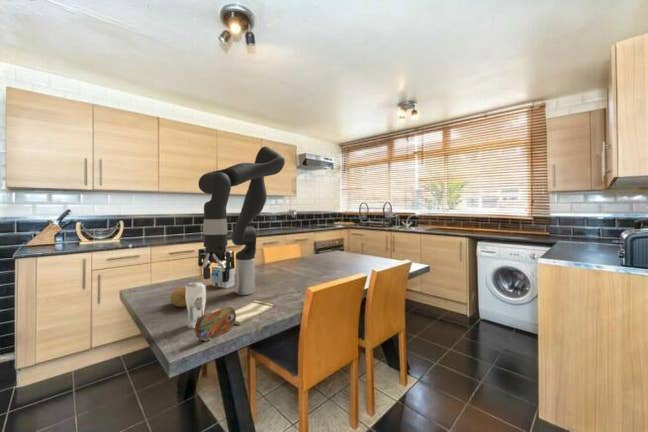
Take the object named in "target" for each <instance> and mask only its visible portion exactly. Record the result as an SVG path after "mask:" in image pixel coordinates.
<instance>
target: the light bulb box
mask: <svg viewBox="0 0 648 432" xmlns="http://www.w3.org/2000/svg"><path fill="white" fill-rule="evenodd" d="M224 266H225V265H224ZM230 266H231V264H230ZM225 267H226V266H225ZM222 271H223V270H222V268H221V267H220V266H219V265H218V264H215V265H212V266H211V286H213V287H218V288H224V289H228V288H231V287H233V286H234V274H235V273H236V267H235V268H234V269H231V270H230V271H229V278H230V279H229V281H228V282H225V283H224V282H222Z"/></svg>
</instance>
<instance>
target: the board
mask: <svg viewBox="0 0 648 432" xmlns="http://www.w3.org/2000/svg"><path fill="white" fill-rule="evenodd" d="M271 308H273V303H269V302H264V301H259V300H255V299H254V300H253V301H252V302H250V303H248V304H246V305H243V307H242V306H241V307H240V308H238V309H236V310H235V309H234V310H235V313H236V320H235V323H234V325H237V326H241V325H243V324H244V323H247V322H248V321H250V320H251V319H253V318H255V317H257V316H259V315H261V314H262V313H265V312H266V311H268V310H269V309H271Z"/></svg>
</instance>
